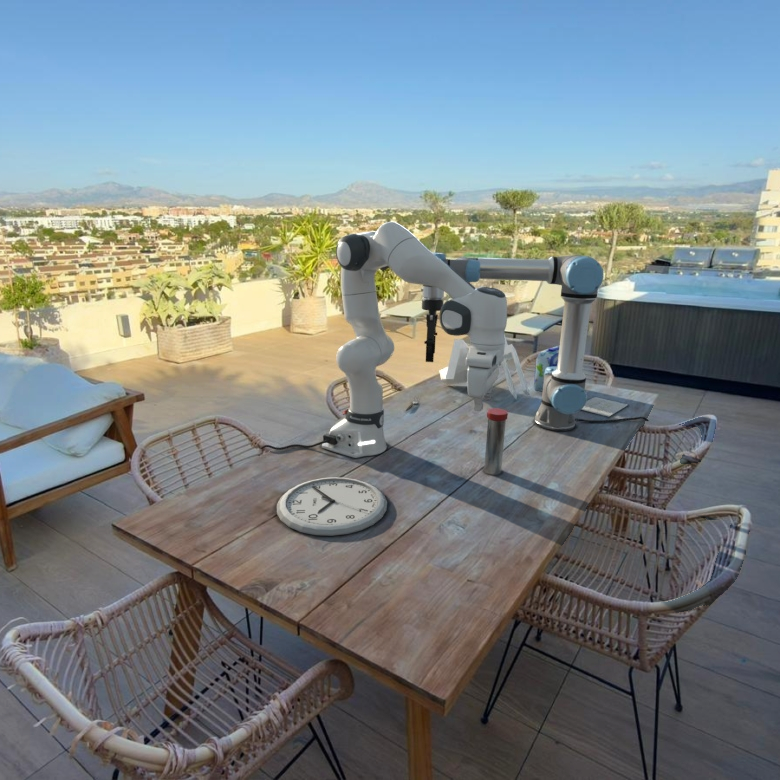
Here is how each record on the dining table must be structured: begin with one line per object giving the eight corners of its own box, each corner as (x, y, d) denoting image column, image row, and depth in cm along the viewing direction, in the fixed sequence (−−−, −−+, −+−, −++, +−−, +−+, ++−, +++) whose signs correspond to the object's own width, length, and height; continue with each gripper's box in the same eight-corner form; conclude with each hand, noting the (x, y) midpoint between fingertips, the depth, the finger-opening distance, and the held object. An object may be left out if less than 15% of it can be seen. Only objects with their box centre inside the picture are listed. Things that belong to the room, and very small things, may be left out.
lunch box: (550, 398, 235) (555, 353, 229) (529, 393, 243) (534, 349, 236) (577, 387, 253) (583, 345, 247) (557, 382, 260) (562, 341, 254)
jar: (503, 470, 165) (509, 412, 159) (496, 476, 161) (502, 417, 155) (488, 466, 168) (493, 408, 162) (481, 471, 164) (485, 413, 158)
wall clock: (392, 527, 129) (268, 531, 127) (391, 533, 130) (269, 537, 127) (383, 473, 158) (282, 475, 155) (383, 478, 158) (282, 480, 156)
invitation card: (608, 416, 214) (573, 407, 224) (608, 416, 214) (573, 408, 224) (628, 404, 229) (594, 396, 238) (628, 405, 229) (594, 397, 238)
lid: (510, 417, 160) (511, 410, 159) (502, 422, 155) (502, 416, 155) (492, 412, 163) (492, 406, 163) (483, 418, 158) (484, 412, 158)
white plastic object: (461, 429, 252) (437, 405, 227) (444, 352, 274) (420, 323, 250) (535, 404, 240) (518, 377, 215) (510, 326, 262) (492, 293, 237)
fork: (403, 411, 216) (403, 406, 215) (414, 400, 230) (414, 395, 230) (409, 412, 215) (409, 407, 215) (420, 400, 229) (420, 396, 229)
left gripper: (483, 344, 142) (479, 392, 147) (463, 360, 124) (460, 415, 128) (506, 346, 140) (502, 395, 144) (490, 363, 122) (486, 418, 126)
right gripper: (424, 293, 195) (422, 349, 202) (419, 302, 172) (417, 365, 178) (444, 294, 195) (441, 350, 201) (442, 303, 171) (439, 366, 177)
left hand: (482, 404), depth 136 cm, fingers open, 8 cm apart
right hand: (430, 357), depth 190 cm, fingers open, 13 cm apart
